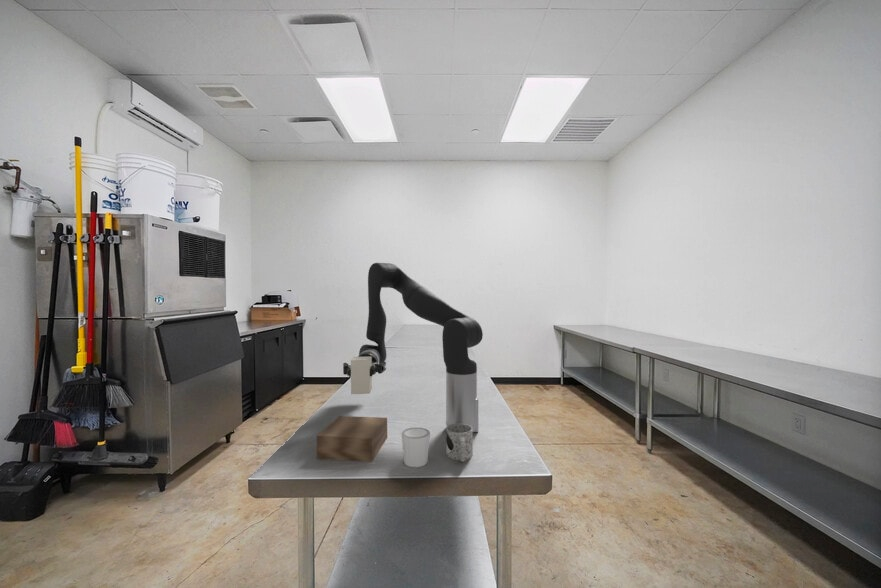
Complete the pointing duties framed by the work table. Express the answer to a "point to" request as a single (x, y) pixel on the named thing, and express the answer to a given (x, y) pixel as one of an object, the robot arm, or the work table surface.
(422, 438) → the shot glass
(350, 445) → the walnut block
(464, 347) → the robot arm
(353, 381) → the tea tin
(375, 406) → the work table surface
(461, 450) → the mug
